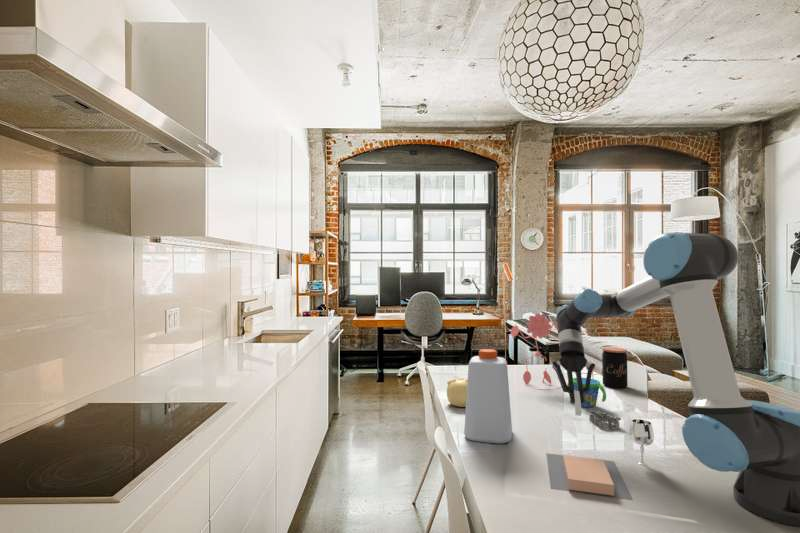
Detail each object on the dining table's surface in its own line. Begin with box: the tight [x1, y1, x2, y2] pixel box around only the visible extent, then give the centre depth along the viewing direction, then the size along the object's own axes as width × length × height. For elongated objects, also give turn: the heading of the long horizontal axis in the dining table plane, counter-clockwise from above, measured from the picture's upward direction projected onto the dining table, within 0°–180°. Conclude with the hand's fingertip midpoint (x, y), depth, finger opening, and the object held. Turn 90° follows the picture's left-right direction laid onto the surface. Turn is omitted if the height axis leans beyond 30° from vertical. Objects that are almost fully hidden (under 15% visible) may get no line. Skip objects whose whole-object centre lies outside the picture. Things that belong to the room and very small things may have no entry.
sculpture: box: [446, 377, 468, 408], centre depth 168 cm, size 12×12×11 cm
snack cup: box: [567, 377, 607, 409], centre depth 168 cm, size 16×10×10 cm
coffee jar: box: [601, 346, 629, 390], centre depth 197 cm, size 11×11×18 cm
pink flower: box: [510, 312, 559, 391], centre depth 198 cm, size 15×26×35 cm, turn 94°
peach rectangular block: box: [562, 454, 614, 496], centre depth 104 cm, size 3×10×14 cm
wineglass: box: [629, 418, 655, 466], centre depth 114 cm, size 6×6×12 cm
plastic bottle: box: [463, 348, 513, 445], centre depth 136 cm, size 15×15×28 cm
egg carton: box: [587, 410, 622, 431], centre depth 146 cm, size 11×8×4 cm
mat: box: [545, 452, 634, 501], centre depth 108 cm, size 21×18×1 cm
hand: (578, 413), depth 121 cm, fingers closed
